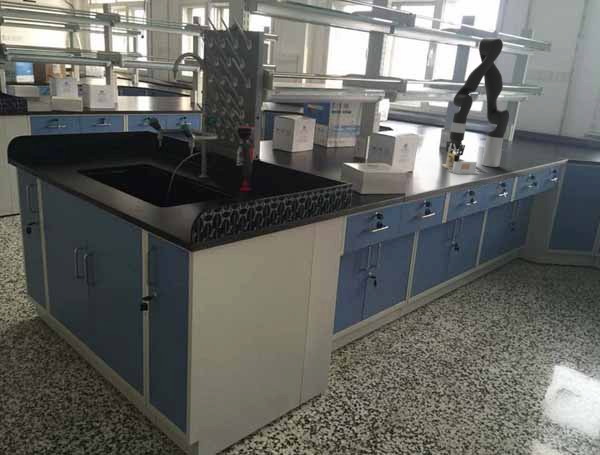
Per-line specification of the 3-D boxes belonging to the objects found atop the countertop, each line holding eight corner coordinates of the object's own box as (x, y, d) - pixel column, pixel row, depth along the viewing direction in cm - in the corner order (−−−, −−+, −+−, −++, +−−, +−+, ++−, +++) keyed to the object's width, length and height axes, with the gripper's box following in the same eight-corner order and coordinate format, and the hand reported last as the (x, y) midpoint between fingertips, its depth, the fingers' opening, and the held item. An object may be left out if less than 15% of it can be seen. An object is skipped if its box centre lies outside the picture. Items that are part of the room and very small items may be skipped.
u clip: (452, 160, 299) (453, 152, 297) (458, 162, 294) (460, 154, 292) (446, 160, 297) (448, 152, 296) (452, 162, 292) (454, 154, 291)
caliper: (453, 166, 302) (454, 155, 300) (453, 166, 303) (455, 155, 301) (487, 173, 291) (490, 162, 289) (488, 173, 291) (490, 162, 289)
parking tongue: (452, 166, 302) (454, 155, 300) (461, 169, 294) (463, 158, 293) (441, 166, 299) (443, 155, 297) (449, 169, 292) (451, 158, 290)
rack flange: (469, 170, 292) (471, 160, 290) (478, 174, 285) (480, 163, 283) (448, 170, 287) (450, 160, 285) (457, 174, 280) (459, 163, 278)
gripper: (471, 133, 285) (466, 163, 291) (455, 129, 298) (450, 158, 303) (460, 133, 283) (455, 164, 288) (444, 128, 295) (439, 158, 300)
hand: (452, 161), depth 296 cm, fingers closed on u clip, 5 cm apart
